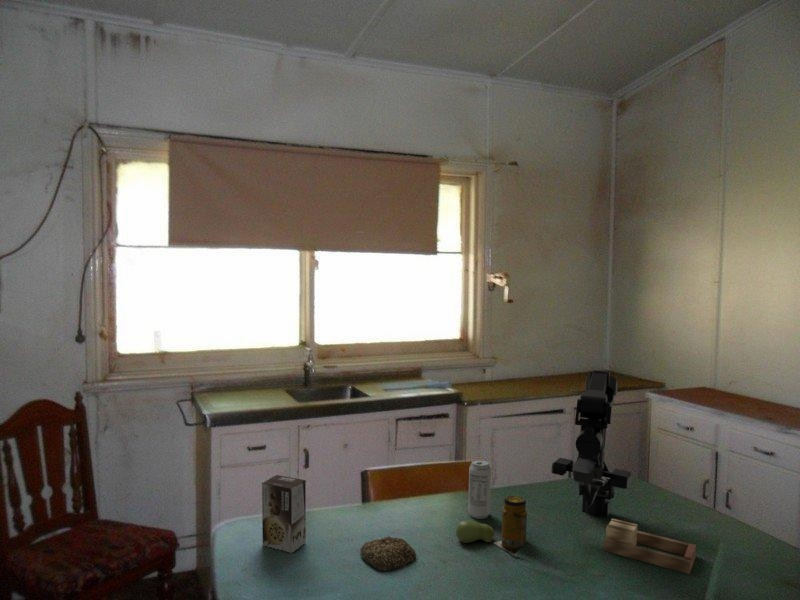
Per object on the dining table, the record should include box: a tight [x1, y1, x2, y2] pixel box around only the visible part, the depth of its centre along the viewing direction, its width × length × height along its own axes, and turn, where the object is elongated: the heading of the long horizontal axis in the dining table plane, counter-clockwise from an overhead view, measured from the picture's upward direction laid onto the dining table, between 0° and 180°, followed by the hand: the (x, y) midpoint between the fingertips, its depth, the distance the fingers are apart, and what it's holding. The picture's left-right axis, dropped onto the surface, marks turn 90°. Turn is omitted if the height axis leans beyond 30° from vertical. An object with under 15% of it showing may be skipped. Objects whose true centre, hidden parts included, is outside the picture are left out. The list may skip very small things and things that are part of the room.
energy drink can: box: [467, 459, 492, 520], centre depth 166 cm, size 6×6×15 cm
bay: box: [602, 530, 697, 575], centre depth 143 cm, size 19×13×4 cm
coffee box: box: [261, 474, 307, 554], centre depth 147 cm, size 9×6×16 cm
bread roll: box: [360, 536, 417, 572], centre depth 142 cm, size 13×12×5 cm
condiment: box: [493, 495, 528, 558], centre depth 147 cm, size 7×8×12 cm
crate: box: [605, 518, 638, 546], centre depth 146 cm, size 6×6×5 cm
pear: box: [455, 519, 495, 544], centre depth 151 cm, size 6×5×10 cm
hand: (589, 505), depth 151 cm, fingers closed
